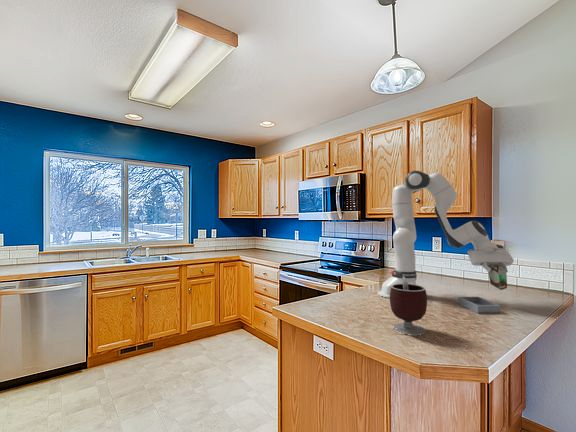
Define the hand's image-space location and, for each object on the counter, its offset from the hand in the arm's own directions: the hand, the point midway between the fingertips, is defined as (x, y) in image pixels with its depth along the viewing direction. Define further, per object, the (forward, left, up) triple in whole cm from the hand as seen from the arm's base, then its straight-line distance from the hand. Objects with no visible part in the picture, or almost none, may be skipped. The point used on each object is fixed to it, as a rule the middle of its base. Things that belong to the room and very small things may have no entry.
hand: (498, 271), depth 154 cm
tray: (-11, -2, -18) cm, 21 cm away
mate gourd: (-57, -30, -18) cm, 67 cm away
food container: (+2, -1, -7) cm, 7 cm away
